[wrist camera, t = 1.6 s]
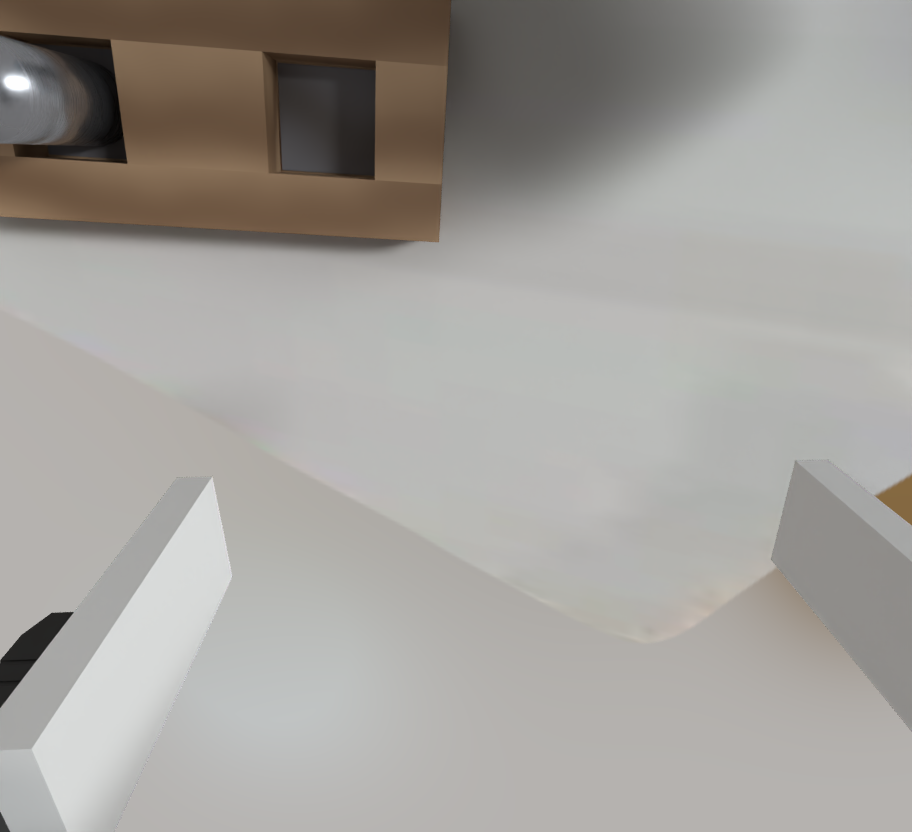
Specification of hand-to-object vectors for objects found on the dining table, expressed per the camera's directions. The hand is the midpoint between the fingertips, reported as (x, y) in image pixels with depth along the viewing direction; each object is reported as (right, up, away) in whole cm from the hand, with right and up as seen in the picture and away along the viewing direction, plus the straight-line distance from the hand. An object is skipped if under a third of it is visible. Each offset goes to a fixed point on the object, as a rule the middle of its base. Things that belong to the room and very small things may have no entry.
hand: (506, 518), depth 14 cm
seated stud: (-18, +17, +14) cm, 29 cm away
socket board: (-13, +17, +15) cm, 26 cm away
